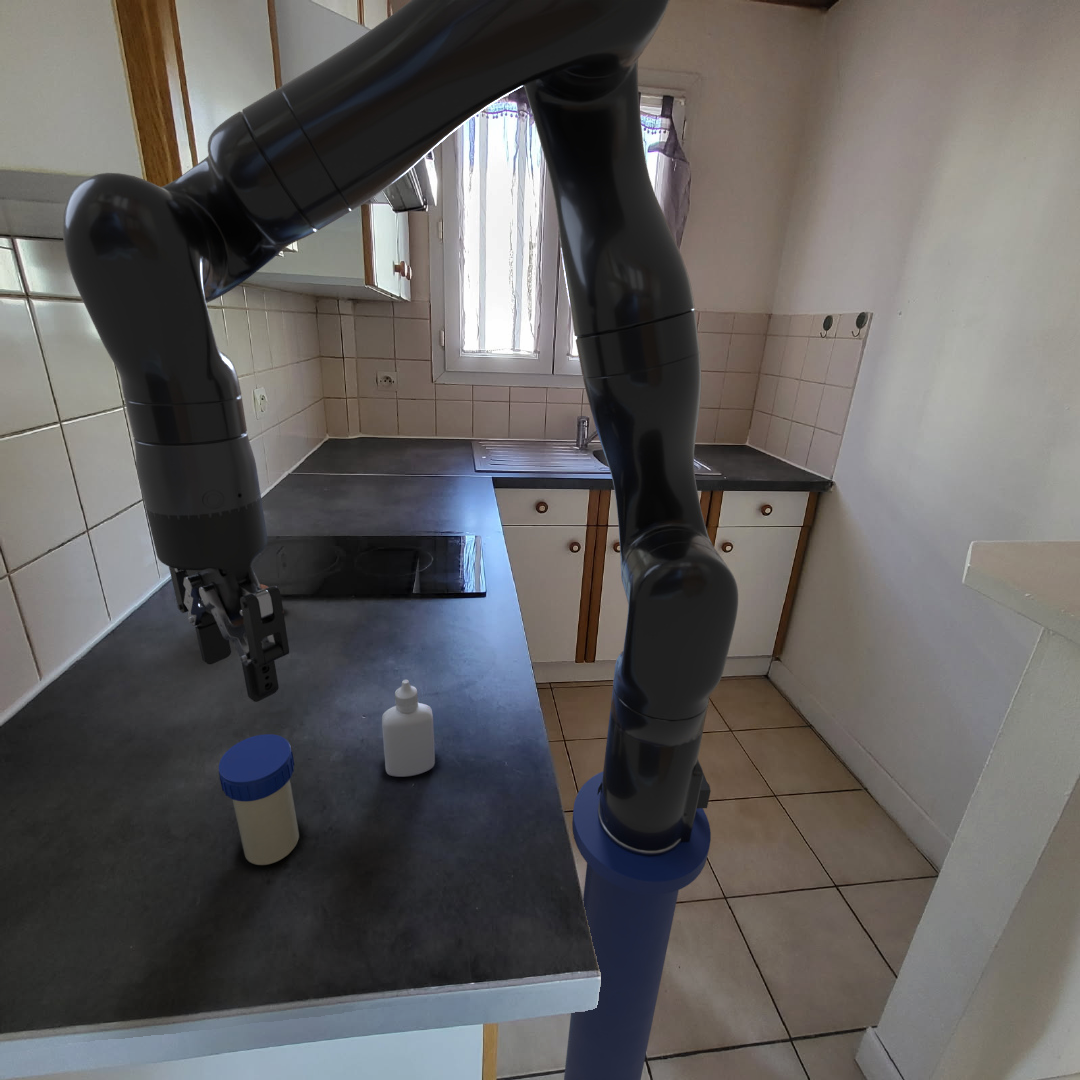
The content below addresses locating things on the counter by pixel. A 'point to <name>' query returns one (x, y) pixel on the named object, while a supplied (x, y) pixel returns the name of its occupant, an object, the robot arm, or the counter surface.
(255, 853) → the jar
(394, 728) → the eye dropper bottle
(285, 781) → the lid
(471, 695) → the counter surface
